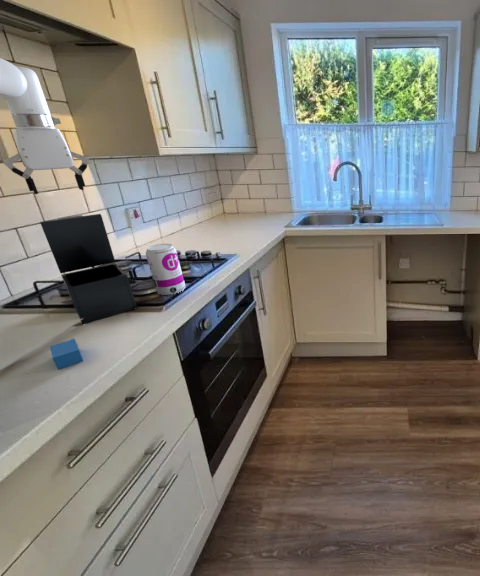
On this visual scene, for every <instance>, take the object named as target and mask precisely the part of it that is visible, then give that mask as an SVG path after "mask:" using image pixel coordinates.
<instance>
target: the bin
mask: <svg viewBox="0 0 480 576" xmlns="http://www.w3.org/2000/svg"><path fill="white" fill-rule="evenodd" d="M61 278H62V281H63V283H64V286H65V288H66V290H67V293H68V295H69V298H70V301H71V303H72V305H73V307H74V309H75V311H76V313H77V316H78V318H79V319H80V320H79V321H80V323H81V325H82V326H83V325H87V324H91V323H94V322H97V321H101V320H105V319H107V318H111V317H114V316H119V315H121V314H125V313H129V312H132V311H136V309H135V308H138V309H139V307H138V305H137V301H136V298H135V295H134V292H133V289H132V286H131V282H130V280H129V278H128V274H127V273H126V271H124V270H123V269H122V268H121V267H120V266H119V265H118V264H117V263H116V262H113V263H109V264H104V265H99V266H94V267H90V268H85V269H80V270H75V271H71V272H66V273H61Z"/></svg>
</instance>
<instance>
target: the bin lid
mask: <svg viewBox="0 0 480 576" xmlns="http://www.w3.org/2000/svg"><path fill="white" fill-rule="evenodd" d="M39 224H40V226H41V228H42V231H43V233H44V236H45V238H46V241H47V243H48V246H49V249H50V251H51V254H52V256H53V258H54V260H55V264H56V267H57V268H58V271H59V273H60V274H66V273H71V272H76V271H80V270H85V269H90V268H95V267H99V266H104V265H109V264H114V263H116V259H115V255H114V253H113V250H112V246H111V242H110V240H109V239H110V238H109V236H108V233H107V230H106V226H105V222H104V219H103V216H102V213H96V214H88V215H82V214H79V215H70V216H64V217H57V219H51V220H44V221H39Z"/></svg>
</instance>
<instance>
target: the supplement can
mask: <svg viewBox="0 0 480 576" xmlns="http://www.w3.org/2000/svg"><path fill="white" fill-rule="evenodd" d="M145 257H146V261H147V263H148V267H149V270H150V273H151V277H152V281H153V284H154V287H155V290H156V293H157V294H159V295H160V294H161V295H160V296H163V295H168V296H174V295H177V294H176V293H178V294H180V293H182V292H184V290H185V289H186V287H187V286H186V283H185V279H184V276H183V271H182V268H181V264H180V259H179V256H178V251H177V249H176V248H175V246H174V245H173V244H172V243H159V244H158V243H157V244H154V245H150V246H148V247H146V251H145ZM181 291H182V292H181ZM179 292H180V293H179ZM173 294H174V295H173Z"/></svg>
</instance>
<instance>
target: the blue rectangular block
mask: <svg viewBox="0 0 480 576" xmlns="http://www.w3.org/2000/svg"><path fill="white" fill-rule="evenodd" d="M49 350H50V353H51V358H52V360H53V362H54V364H55V366H56V368H57V370H60V369H63V368H67V367H69V366H72V365H73V366H74V365H75V364H79V363H81V362H84V358H83V356H82V354H81V351H80V348H79V346H78V344H77V341H76V339H75V338H72V339H67V340H65V341H61V342H58V343H55V344H52V345H49Z"/></svg>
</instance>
